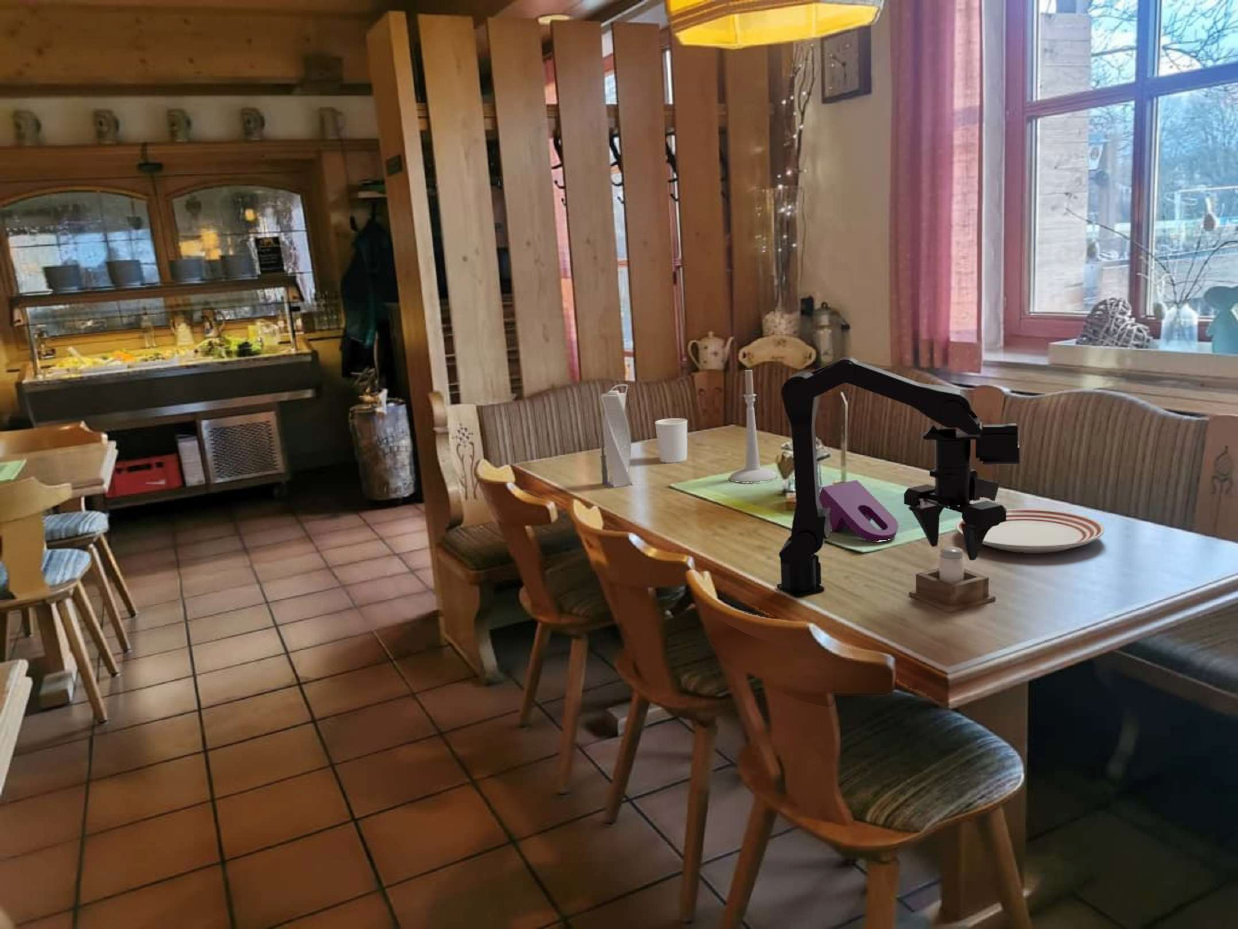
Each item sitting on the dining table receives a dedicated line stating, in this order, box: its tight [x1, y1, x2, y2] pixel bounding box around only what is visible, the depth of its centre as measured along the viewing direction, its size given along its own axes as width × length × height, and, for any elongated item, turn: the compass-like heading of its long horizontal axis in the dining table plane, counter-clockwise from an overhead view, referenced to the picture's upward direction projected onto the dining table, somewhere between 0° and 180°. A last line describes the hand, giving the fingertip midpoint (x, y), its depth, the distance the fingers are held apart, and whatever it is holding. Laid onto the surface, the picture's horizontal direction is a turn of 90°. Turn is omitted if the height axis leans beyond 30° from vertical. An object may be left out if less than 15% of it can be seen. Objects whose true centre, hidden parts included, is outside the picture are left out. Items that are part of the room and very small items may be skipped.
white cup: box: [654, 417, 688, 464], centre depth 285 cm, size 10×10×12 cm
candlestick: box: [729, 368, 778, 483], centre depth 254 cm, size 13×13×30 cm
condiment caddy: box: [908, 567, 997, 613], centre depth 163 cm, size 10×10×4 cm
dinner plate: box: [955, 508, 1105, 554], centre depth 190 cm, size 28×27×3 cm
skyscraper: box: [600, 383, 634, 489], centre depth 258 cm, size 8×8×28 cm
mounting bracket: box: [819, 479, 899, 542], centre depth 204 cm, size 9×8×18 cm
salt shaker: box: [938, 546, 965, 584], centre depth 162 cm, size 4×4×8 cm
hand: (952, 552), depth 162 cm, fingers open, 9 cm apart
